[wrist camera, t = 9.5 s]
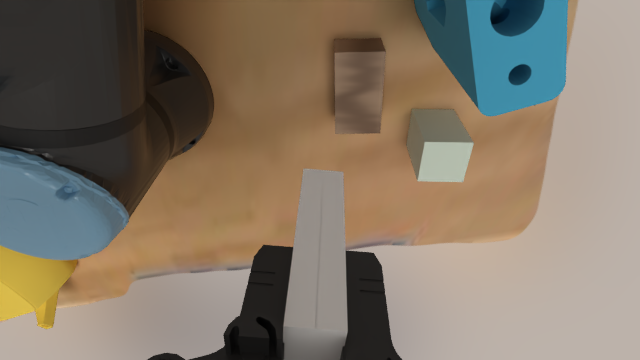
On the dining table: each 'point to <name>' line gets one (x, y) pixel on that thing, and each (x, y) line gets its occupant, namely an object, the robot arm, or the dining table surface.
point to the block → (500, 48)
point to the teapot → (31, 285)
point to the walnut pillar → (359, 85)
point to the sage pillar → (438, 145)
